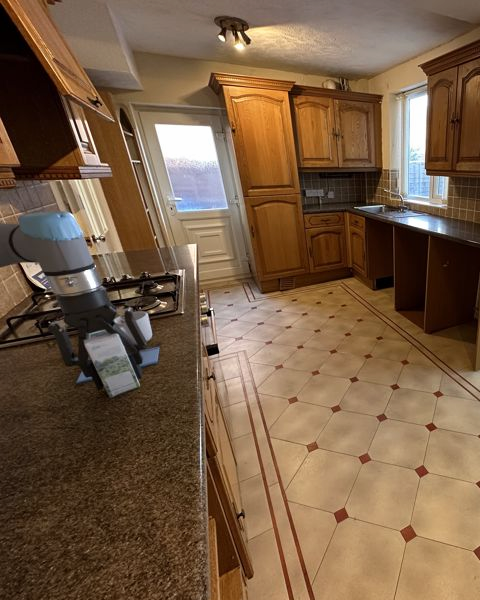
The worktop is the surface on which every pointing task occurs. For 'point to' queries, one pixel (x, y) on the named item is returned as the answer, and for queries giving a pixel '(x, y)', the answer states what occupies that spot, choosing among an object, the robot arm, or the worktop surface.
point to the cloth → (148, 359)
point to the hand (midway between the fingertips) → (121, 380)
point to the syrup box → (111, 362)
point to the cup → (142, 322)
